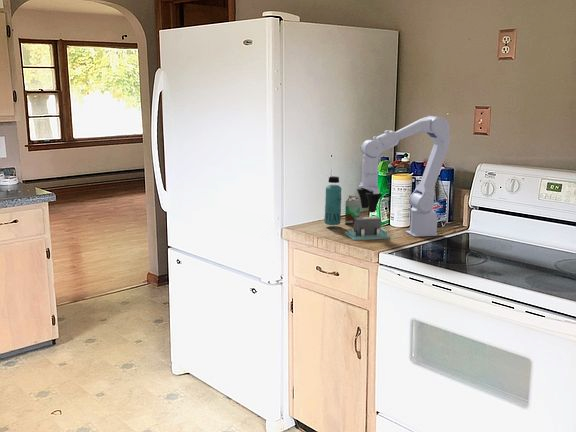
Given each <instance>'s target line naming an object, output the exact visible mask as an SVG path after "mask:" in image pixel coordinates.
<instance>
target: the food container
mask: <svg viewBox="0 0 576 432" xmlns="http://www.w3.org/2000/svg"><path fill="white" fill-rule="evenodd" d="M361 207H362V206H361V200H360V196H357V195H348V198H347V200H345V215H344V217H345V219H344V221H345V222H344V225H347V226H349V225H350V226H352V225H353V226H354V218H355V217H360V213H361Z"/></svg>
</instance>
